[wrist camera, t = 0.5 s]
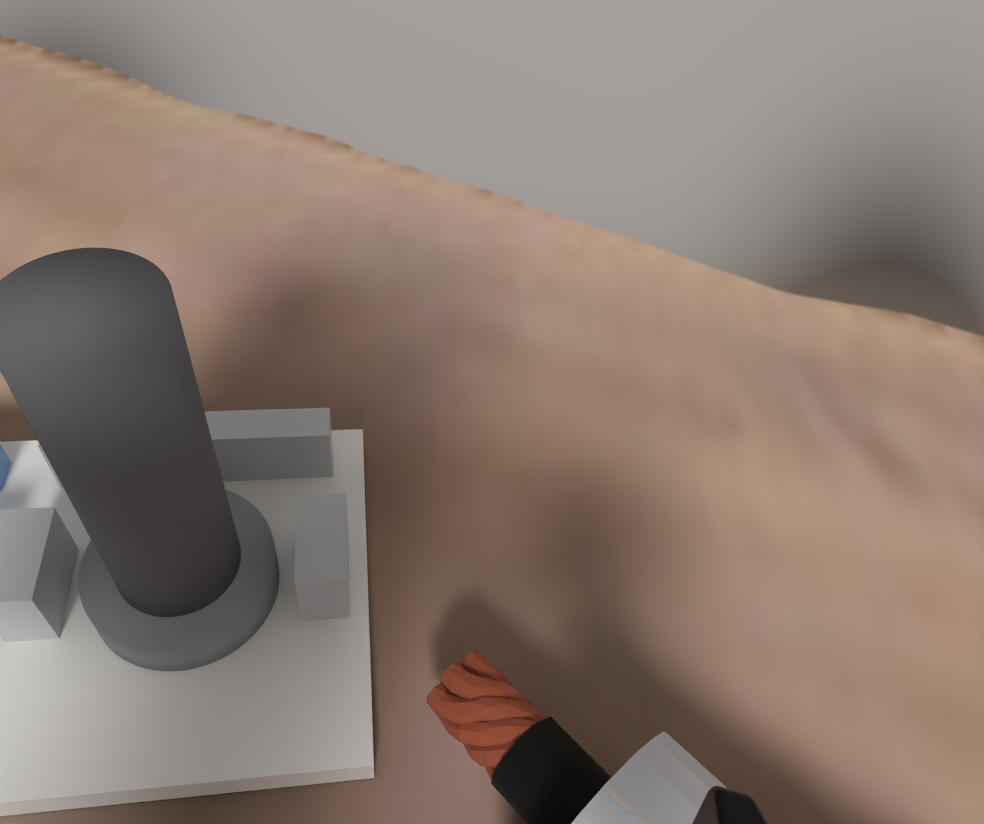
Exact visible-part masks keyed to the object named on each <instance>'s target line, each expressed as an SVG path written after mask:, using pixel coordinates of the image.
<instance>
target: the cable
mask: <svg viewBox="0 0 984 824" xmlns="http://www.w3.org/2000/svg"><path fill="white" fill-rule="evenodd" d="M440 679H441V682H442V683H441V684H439V685H437V686H436V687H434V688H433V689H432V691H431V692H430V693H429V694H428V696H427V703H428V704H429V706H430V707H431V708H432V710H433V711H434V712H435V714H436V715H437V716H438V717H439V719H440V720H441V722H442V723H443V725H444V727H445V728H446V730H447V731H448V733H449V734H450V735H451V736H453V737H454V738H455V739H457V740H458V741H459V742H462V743H463V744H464V746H465V748H466V750H467V752H468V754H469V755H470V757H471V758H472V759H473V760H475V761H476V762H477V763H478V764H479V765H480V766H485V767H486V770H487V773H488V775H489V777H490V778H491V779H492V780H491V784H492V785H493V786H494V787H495V788H496V789H497V790H498V791H499V792H500V794H501V795H502V796H503V797H504V798H505V799H506V800H507V801H508V802H509V803H510V805H511V806H512V807H513V808H514V809H515V810H516V811H517V812H518V813H519V814H520V815H521V817H522V818H523V819H524V820H525V821H526V822H527V823H528V824H692V823H693V821H694V819H695V817H696V815H697V813H698V811H699V809H700V807H701V804H702V802H703V800H704V798H705V796H706V794H707V792H708V791H709V790H710V789H711V788H712V787H713V786H721V787H725V788H727V787H726V786H725V785H723V784H722V783H721V782H720V781H719V780H718V779H717V778H716V777H715V776H714V775H712V774H711V773H710V772H709V771H708V770H707V769H706V768H705V767H704V766H703V765H701V764H700V763H699V762H698V761H697V760H696V759H695V758H694V757H693V756H691V755H690V754H689V753H688V752H687V751H686V750H685V749H684V748H683V747H682V746H680V745H679V744H678V743H677V742H676V741H675V740H674V739H673V738H672V737H671V736H669V735H668V734H667V733H666V732H665V731H664V732H662V733H660V734H659V735H657V736H655V737H654V738H653V739H651V740H650V741H649V742H648V743H647V744H646V745H644V746H643V747H642V748H641V749H640V750H638V751H637V752H636V753H635V754H634V755H633V756H632V757H631V758H630V759H629V760H628V761H627V762H626V763H625V764H624V765H623V766H622V767H621V768H620V769H619V770H618V771H617V773H616V774H615V775H614V776H613V777H612V778H611V777H610V776H609V775H608V774H607V773H606V772H605V771H604V770H603V769H602V768H601V767H600V766H599V765H598V764H597V763H596V762H595V761H594V760H593V759H592V758H591V757H590V756H589V755H588V754H587V753H586V752H585V751H584V750H583V749H582V748H581V747H580V746H579V745H578V744H577V743H576V742H575V741H574V740H573V739H572V738H571V737H570V736H569V735H568V734H567V733H566V732H565V731H564V730H563V729H562V728H561V727H560V726H559V725H558V724H557V723H556V722H555V721H554V720H553V719H552V718H551V717H548V718H546V717H545V716H544V715H543V714H542V713H541V712H540V711H539V710H538V709H536V708H535V707H533V705H532V704H531V703H530V701H529V700H528V698H526V697H525V696H524V695H523V694H521V693H520V692H519V691H517V690H516V689H515V688H514V687H513V686H512V685H511V683H510V682H509V681H508V679H507V678H506V677H505V675H504V674H503V673H502V672H500V671H499V670H498V669H497V668H496V667H495V666H494V665H493V664H491V663H490V662H489V661H488V660H487V659H486V658H485V657H484V656H482V655H481V654H480V653H479V652H478V651H477V650H473V651H471V652H470V653H469V654H467V655H466V656H465V657H464V659H463V660H462V662H461V663H459V662H455V663H452V664H451V665H450V666H449V667H448V668H446V670H445V671H444V673H443V674H442V676H441V677H440Z"/></svg>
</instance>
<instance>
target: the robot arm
mask: <svg viewBox="0 0 984 824" xmlns="http://www.w3.org/2000/svg"><path fill="white" fill-rule="evenodd" d="M692 824H767V822H766V820H765V819H764V817H763V815H762V813H761V811H760V809H759V808H758V806H757V804H756V802H755V801H754V800H753V799H752V798H751V797H750V796H749V795H748V794H745V793H743V792H739V791H736V790H732V789H728V788H725V787H721V786H713V787H712V788H711V789H710V790H709V791H708V792H707V794H706V796H705V798H704V800H703V802H702V804H701V807H700V809H699V811H698V813H697V815H696V817H695V819H694V821H693V823H692Z"/></svg>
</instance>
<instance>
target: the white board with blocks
mask: <svg viewBox="0 0 984 824" xmlns="http://www.w3.org/2000/svg"><path fill="white" fill-rule="evenodd" d="M204 412H205V416H206V419H207V423H208V427H209V431H210V434H211V438H212V442H213V446H214V449H215V453H216V457H217V461H218V464H219V468H220V472H221V476H222V479H223V483H224V487H225V489H226V490H229V491H231V492H234V493H236V494H238V495H240V496H241V497H243V498H245V499H246V500H248V501H249V502H250V503H251V504H253V505H254V506H255V507H256V508H257V509H258V510H259V511H260V512H261V514H262V515H263V517H264V518H265V520H266V521H267V523H268V525H269V527H270V530H271V532H272V536H273V540H274V544H275V549H276V554H277V559H278V564H279V573H280V576H279V588H278V593H277V597H276V600H275V603H274V606H273V608H272V610H271V612H270V614H269V616H268V617H267V619H266V620H265V622H264V623H263V625H262V626H261V627H260V628H259V630H258V631H257V632H256V633H255V634H254V635H253V636H252V637H251V638H250V639H249V640H248V641H247V642H246V643H245V644H244V645H242V646H241V647H240V648H238V649H237V650H236V651H234V652H233V653H231V654H229V655H227V656H226V657H224V658H222V659H220V660H218V661H215V662H213V663H211V664H208V665H205V666H202V667H199V668H194V669H189V670H184V671H156V670H150V669H145V668H142V667H139V666H136V665H134V664H132V663H130V662H128V661H125V660H124V659H122V658H121V657H119V656H118V655H117V654H115V653H114V652H113V651H112V650H111V649H110V648H109V647H108V646H107V645H106V643H105V642H104V641H103V639H102V638H101V636H100V635H99V633H98V632H97V630H96V628H95V627H94V625H93V624H92V622H91V620H90V619H89V617H88V616H87V614H86V612H85V610H84V608H83V606H82V602H81V599H80V595H79V587H78V578H79V570H80V565H81V561H82V558H83V556H84V553H85V550H86V548H87V547H88V545H89V543H90V541H91V538H90V536H89V535H88V533H87V531H86V529H85V527H84V525H83V523H82V522H81V520H80V518H79V516H78V514H77V512H76V510H75V509H74V507H73V505H72V503H71V501H70V499H69V497H68V496H67V494H66V492H65V490H64V488H63V486H62V484H61V483H60V481H59V479H58V477H57V475H56V473H55V471H54V470H53V468H52V466H51V464H50V462H49V460H48V458H47V457H46V455H45V453H44V451H43V449H42V447H41V445H40V444H39V442H38V440H35V441H6V442H0V816H8V815H18V814H28V813H37V812H47V811H57V810H67V809H76V808H86V807H96V806H106V805H116V804H125V803H135V802H145V801H155V800H164V799H174V798H184V797H194V796H203V795H213V794H223V793H233V792H243V791H252V790H262V789H272V788H282V787H291V786H301V785H311V784H321V783H330V782H340V781H350V780H360V779H369V778H374V755H373V725H372V694H371V664H370V633H369V603H368V572H367V542H366V512H365V481H364V451H363V429H353V430H331V417H330V408H297V409H264V410H231V411H204Z"/></svg>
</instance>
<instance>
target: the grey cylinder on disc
mask: <svg viewBox="0 0 984 824" xmlns="http://www.w3.org/2000/svg"><path fill="white" fill-rule="evenodd" d="M0 371H1V373H2V375H3V377H4V378H5V380H6V382H7V384H8V386H9V388H10V390H11V391H12V393H13V395H14V397H15V399H16V401H17V403H18V404H19V406H20V408H21V410H22V412H23V414H24V416H25V417H26V419H27V421H28V423H29V425H30V427H31V429H32V430H33V432H34V434H35V436H36V438H37V440H38V442H39V444H40V445H41V447H42V449H43V451H44V453H45V455H46V457H47V458H48V460H49V462H50V464H51V466H52V468H53V470H54V471H55V473H56V475H57V477H58V479H59V481H60V483H61V484H62V486H63V488H64V490H65V492H66V494H67V496H68V497H69V499H70V501H71V503H72V505H73V507H74V509H75V510H76V512H77V514H78V516H79V518H80V520H81V522H82V523H83V525H84V527H85V529H86V531H87V533H88V535H89V536H90V538H91V541H90V543H89V545H88V547H87V548H86V550H85V553H84V556H83V558H82V561H81V565H80V570H79V578H78V587H79V595H80V599H81V602H82V606H83V608H84V610H85V612H86V614H87V616H88V617H89V619H90V620H91V622H92V624H93V625H94V627H95V628H96V630H97V632H98V633H99V635H100V636H101V638H102V639H103V641H104V642H105V643H106V645H107V646H108V647H109V648H110V649H111V650H112V651H113V652H114V653H115V654H117V655H118V656H119V657H121V658H122V659H124V660H125V661H128V662H130V663H132V664H134V665H136V666H139V667H142V668H145V669H150V670H156V671H184V670H189V669H194V668H199V667H202V666H205V665H208V664H211V663H213V662H215V661H218V660H220V659H222V658H224V657H226V656H227V655H229V654H231V653H233V652H234V651H236V650H237V649H238V648H240V647H241V646H242V645H244V644H245V643H246V642H247V641H248V640H249V639H250V638H251V637H252V636H253V635H254V634H255V633H256V632H257V631H258V630H259V628H260V627H261V626H262V625H263V623H264V622H265V620H266V619H267V617H268V616H269V614H270V612H271V610H272V608H273V606H274V603H275V600H276V597H277V593H278V588H279V576H280V573H279V564H278V559H277V554H276V549H275V544H274V540H273V536H272V532H271V530H270V527H269V525H268V523H267V521H266V520H265V518H264V517H263V515H262V514H261V512H260V511H259V510H258V509H257V508H256V507H255V506H254V505H253V504H251V503H250V502H249V501H248V500H246V499H245V498H243V497H241V496H240V495H238V494H236V493H234V492H231V491H229V490H226V489H225V487H224V483H223V479H222V476H221V472H220V468H219V464H218V461H217V457H216V453H215V449H214V446H213V442H212V438H211V434H210V431H209V427H208V423H207V419H206V416H205V412H204V408H203V404H202V401H201V397H200V393H199V389H198V386H197V382H196V378H195V374H194V371H193V367H192V363H191V359H190V356H189V352H188V348H187V344H186V341H185V337H184V333H183V329H182V326H181V322H180V318H179V314H178V311H177V307H176V303H175V299H174V296H173V292H172V288H171V285H170V283H169V280H168V278H167V277H166V276H165V274H164V273H163V272H162V271H161V270H160V269H159V268H158V267H157V266H156V265H155V264H153V263H152V262H150V261H149V260H147V259H145V258H143V257H141V256H138V255H136V254H133V253H130V252H126V251H122V250H116V249H109V248H80V249H72V250H66V251H61V252H57V253H53V254H50V255H46V256H43V257H40V258H38V259H35V260H33V261H31V262H29V263H27V264H25V265H23V266H21V267H19V268H17V269H16V270H14V271H13V272H11V273H10V274H8V275H7V276H6V277H4V278H3V279H2V280H1V281H0Z"/></svg>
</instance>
